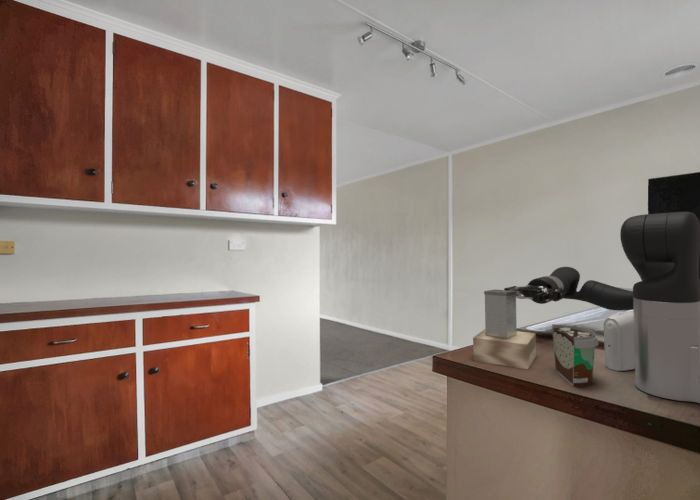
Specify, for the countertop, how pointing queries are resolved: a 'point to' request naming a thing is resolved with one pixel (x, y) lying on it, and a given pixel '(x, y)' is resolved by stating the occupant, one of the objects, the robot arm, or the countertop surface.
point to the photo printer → (619, 341)
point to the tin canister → (500, 313)
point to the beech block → (505, 349)
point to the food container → (574, 353)
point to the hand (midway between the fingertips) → (521, 296)
